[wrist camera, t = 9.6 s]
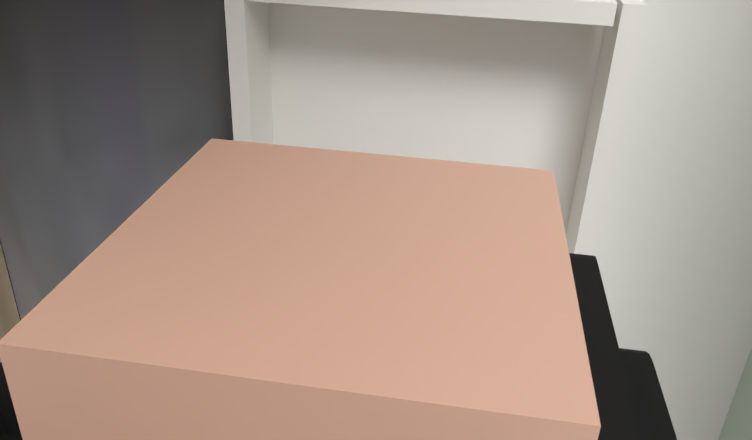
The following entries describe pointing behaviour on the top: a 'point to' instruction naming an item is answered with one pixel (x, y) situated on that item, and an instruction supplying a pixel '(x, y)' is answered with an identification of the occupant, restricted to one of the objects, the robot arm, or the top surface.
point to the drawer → (554, 143)
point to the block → (316, 308)
